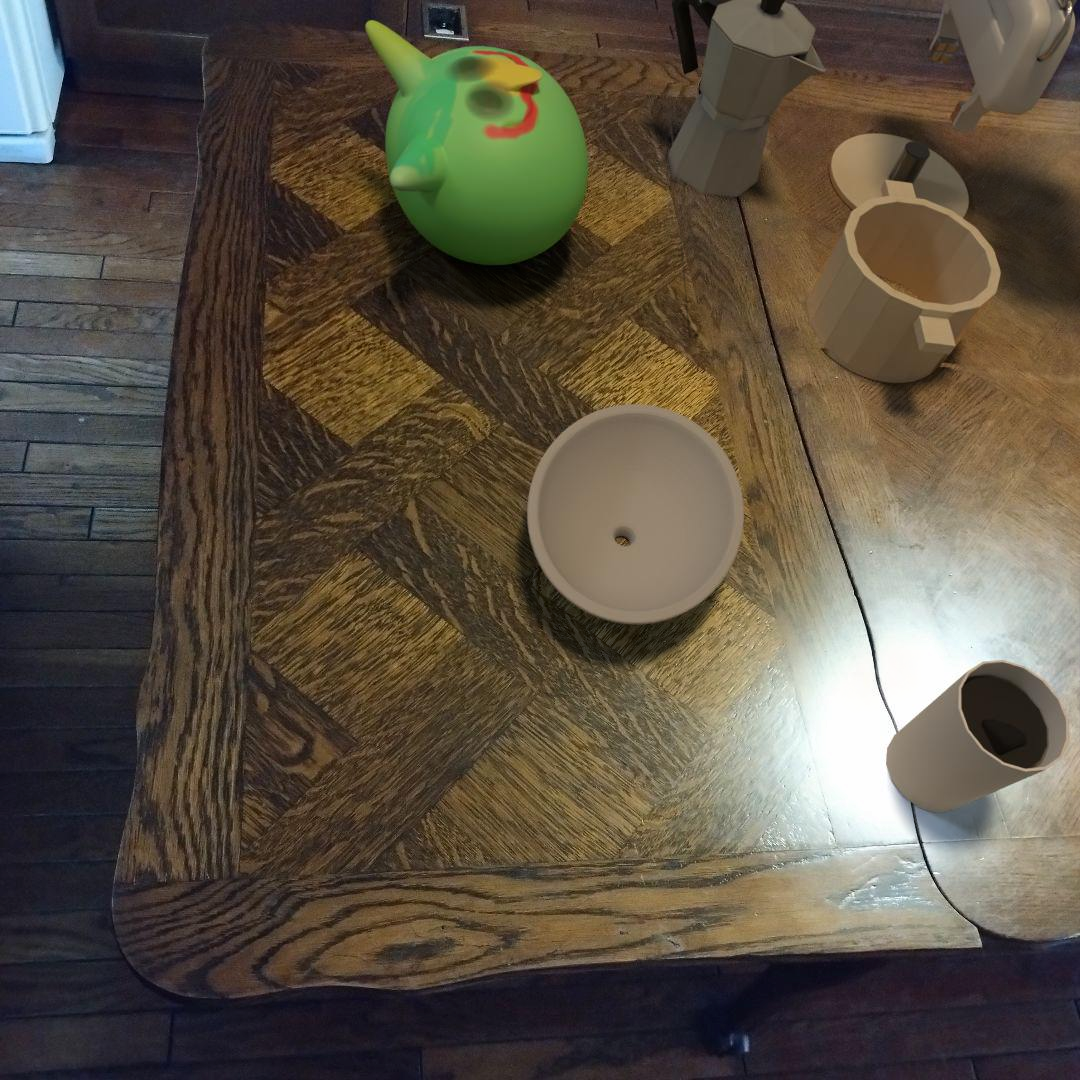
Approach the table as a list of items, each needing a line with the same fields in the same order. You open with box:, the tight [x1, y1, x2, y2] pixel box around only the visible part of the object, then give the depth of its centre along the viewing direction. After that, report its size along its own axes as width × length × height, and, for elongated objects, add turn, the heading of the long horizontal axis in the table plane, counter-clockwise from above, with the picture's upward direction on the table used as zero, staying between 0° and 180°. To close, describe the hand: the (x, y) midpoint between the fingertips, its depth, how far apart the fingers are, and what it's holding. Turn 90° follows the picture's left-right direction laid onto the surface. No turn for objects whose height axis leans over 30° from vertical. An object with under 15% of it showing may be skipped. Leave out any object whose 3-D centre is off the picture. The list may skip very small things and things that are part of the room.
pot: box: [805, 180, 1002, 384], centre depth 81 cm, size 13×18×8 cm
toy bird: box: [364, 19, 589, 266], centre depth 77 cm, size 18×17×15 cm
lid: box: [828, 133, 970, 219], centre depth 92 cm, size 14×14×5 cm
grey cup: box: [885, 659, 1071, 813], centre depth 60 cm, size 7×7×10 cm
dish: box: [526, 403, 745, 626], centre depth 67 cm, size 18×14×5 cm
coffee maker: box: [666, 0, 827, 198], centre depth 84 cm, size 15×9×18 cm, turn 48°
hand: (948, 91), depth 85 cm, fingers open, 8 cm apart
